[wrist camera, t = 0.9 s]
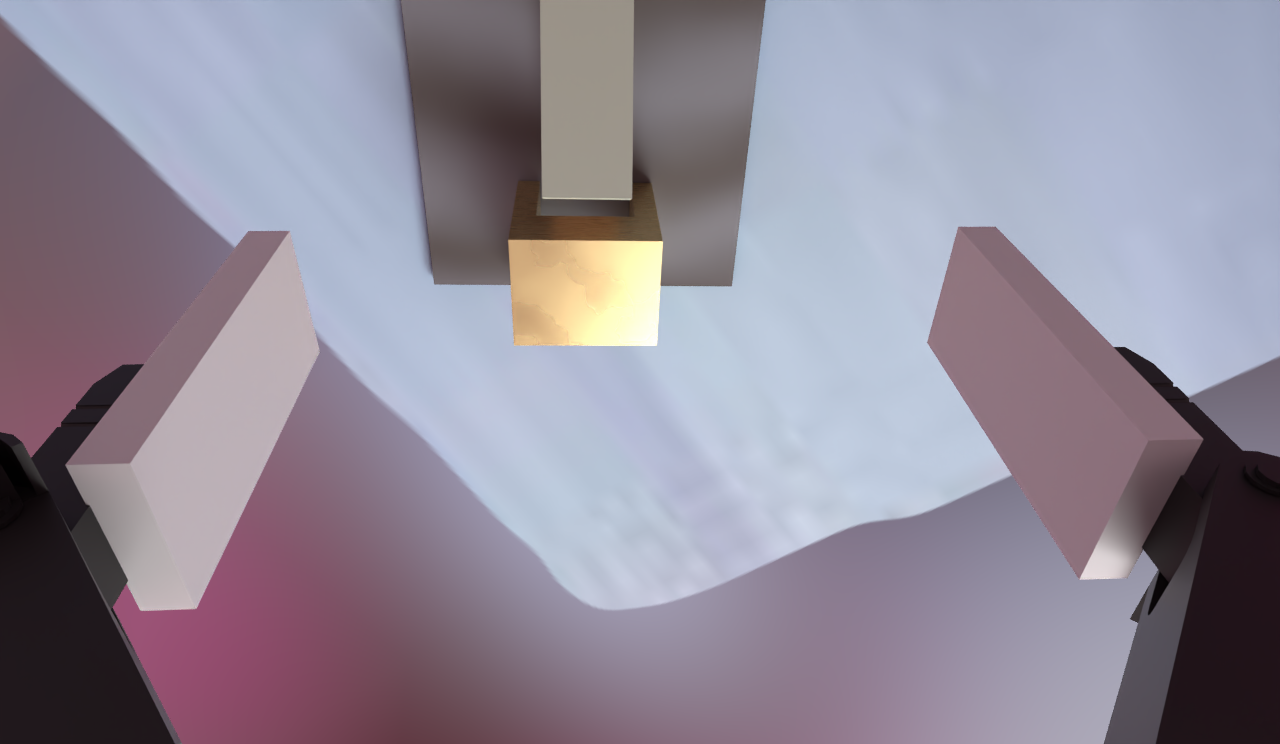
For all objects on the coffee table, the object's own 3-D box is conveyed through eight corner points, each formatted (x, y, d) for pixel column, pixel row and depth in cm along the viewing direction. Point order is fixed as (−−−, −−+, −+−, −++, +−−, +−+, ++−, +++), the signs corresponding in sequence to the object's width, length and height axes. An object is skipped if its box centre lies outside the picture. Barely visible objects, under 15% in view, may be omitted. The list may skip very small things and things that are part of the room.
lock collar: (518, 180, 37) (508, 239, 32) (651, 182, 38) (662, 241, 33) (522, 276, 40) (514, 345, 35) (646, 277, 41) (656, 345, 35)
